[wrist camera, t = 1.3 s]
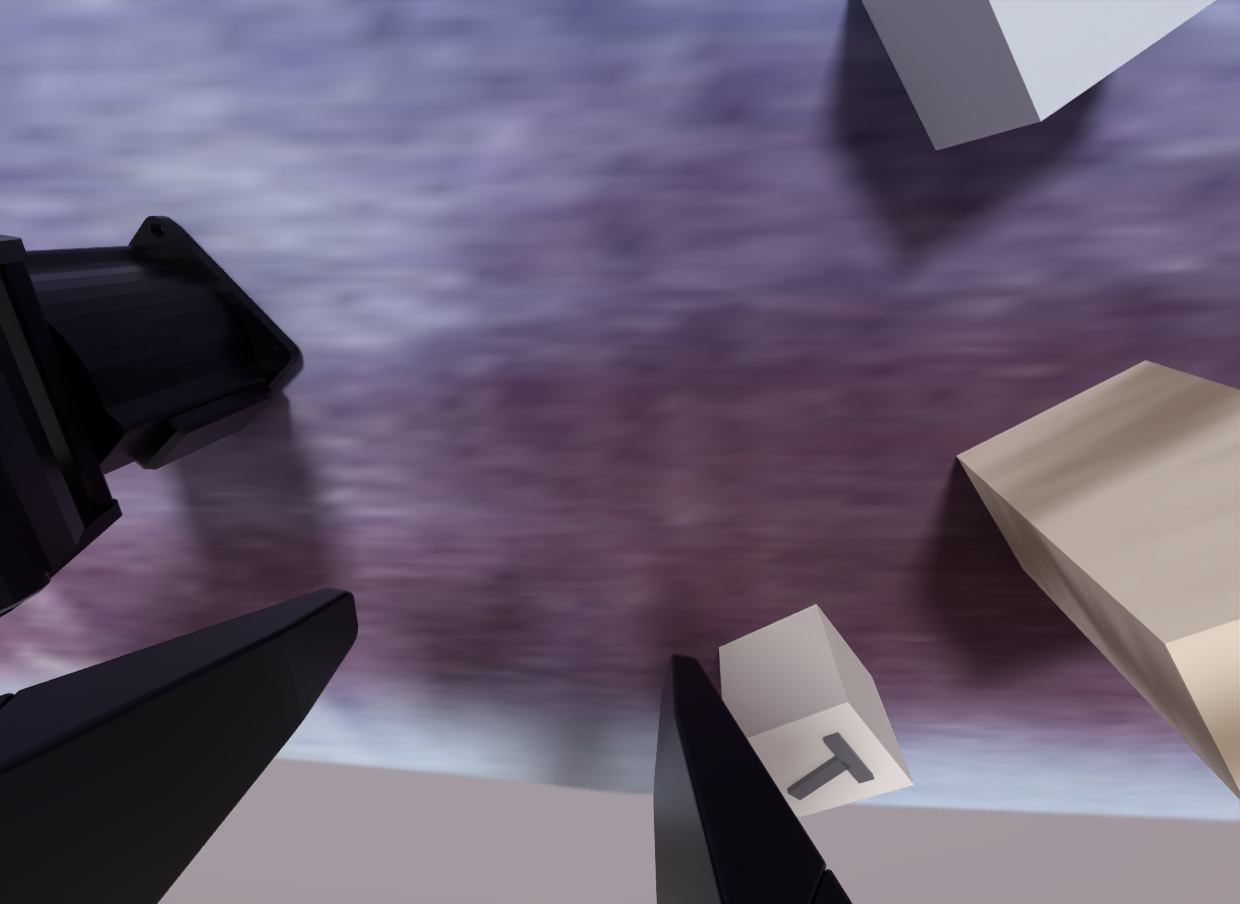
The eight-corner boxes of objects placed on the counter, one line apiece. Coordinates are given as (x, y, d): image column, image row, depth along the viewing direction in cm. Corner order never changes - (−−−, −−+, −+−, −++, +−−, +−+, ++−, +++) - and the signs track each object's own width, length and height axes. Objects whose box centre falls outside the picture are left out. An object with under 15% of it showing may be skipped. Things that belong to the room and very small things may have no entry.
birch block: (956, 455, 18) (1165, 643, 10) (1145, 360, 16) (1596, 502, 8) (1022, 568, 20) (1248, 808, 12) (1202, 494, 18) (1629, 726, 10)
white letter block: (718, 646, 24) (725, 751, 19) (816, 602, 22) (849, 706, 17) (774, 711, 25) (794, 824, 20) (871, 675, 23) (915, 790, 19)
